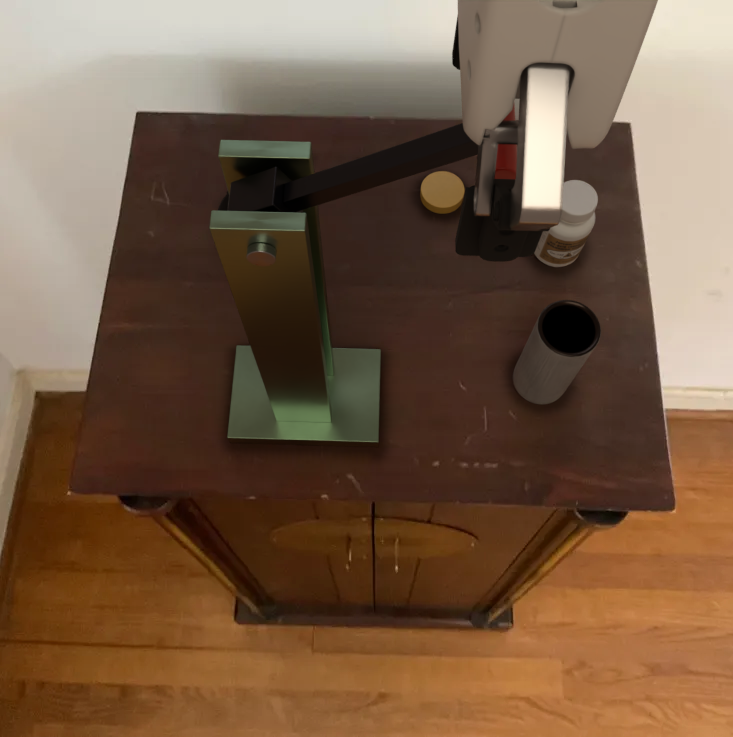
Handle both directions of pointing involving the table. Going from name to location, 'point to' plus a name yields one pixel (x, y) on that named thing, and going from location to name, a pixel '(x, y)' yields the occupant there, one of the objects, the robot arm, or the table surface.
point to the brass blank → (442, 192)
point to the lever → (363, 173)
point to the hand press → (288, 319)
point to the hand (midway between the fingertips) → (489, 152)
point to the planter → (556, 351)
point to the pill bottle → (569, 226)
